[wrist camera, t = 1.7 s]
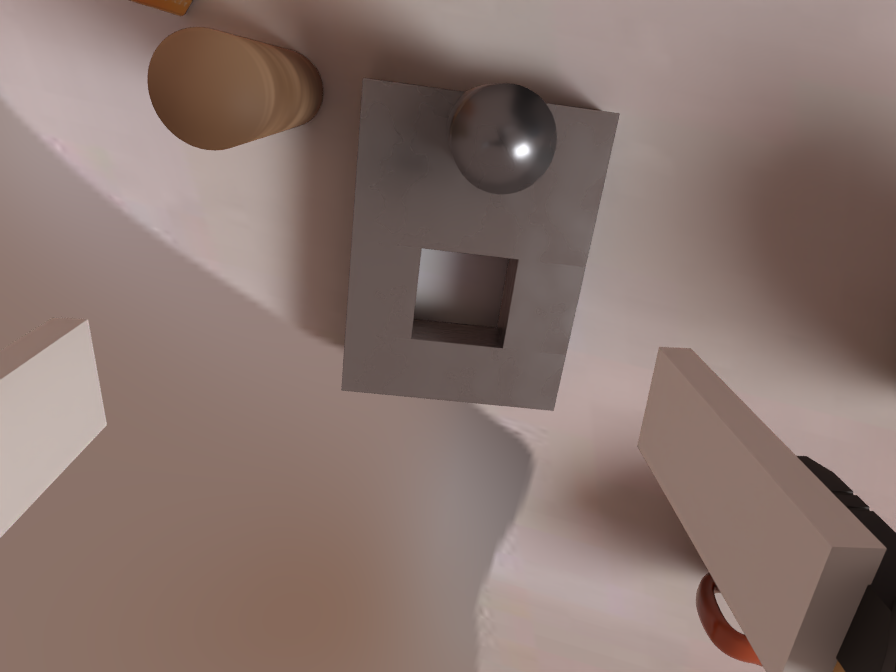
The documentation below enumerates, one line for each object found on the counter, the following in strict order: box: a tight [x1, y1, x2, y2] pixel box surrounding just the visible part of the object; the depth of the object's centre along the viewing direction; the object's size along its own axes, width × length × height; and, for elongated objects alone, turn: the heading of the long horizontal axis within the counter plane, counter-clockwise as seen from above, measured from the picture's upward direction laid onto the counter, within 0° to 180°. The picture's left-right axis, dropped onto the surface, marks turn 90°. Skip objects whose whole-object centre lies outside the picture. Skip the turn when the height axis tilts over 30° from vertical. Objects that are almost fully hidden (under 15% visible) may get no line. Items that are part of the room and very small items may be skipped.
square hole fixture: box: [342, 78, 619, 411], centre depth 29 cm, size 16×12×9 cm
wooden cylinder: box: [148, 27, 323, 150], centre depth 25 cm, size 4×4×12 cm
